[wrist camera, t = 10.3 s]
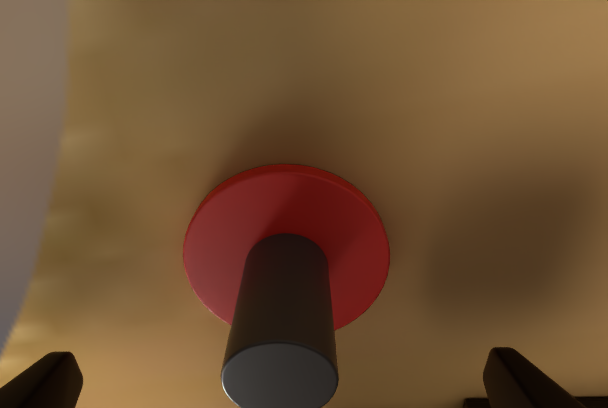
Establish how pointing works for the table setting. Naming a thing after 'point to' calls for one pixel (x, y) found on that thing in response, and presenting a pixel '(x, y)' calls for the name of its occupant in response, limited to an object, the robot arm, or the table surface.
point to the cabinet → (593, 405)
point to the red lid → (285, 278)
